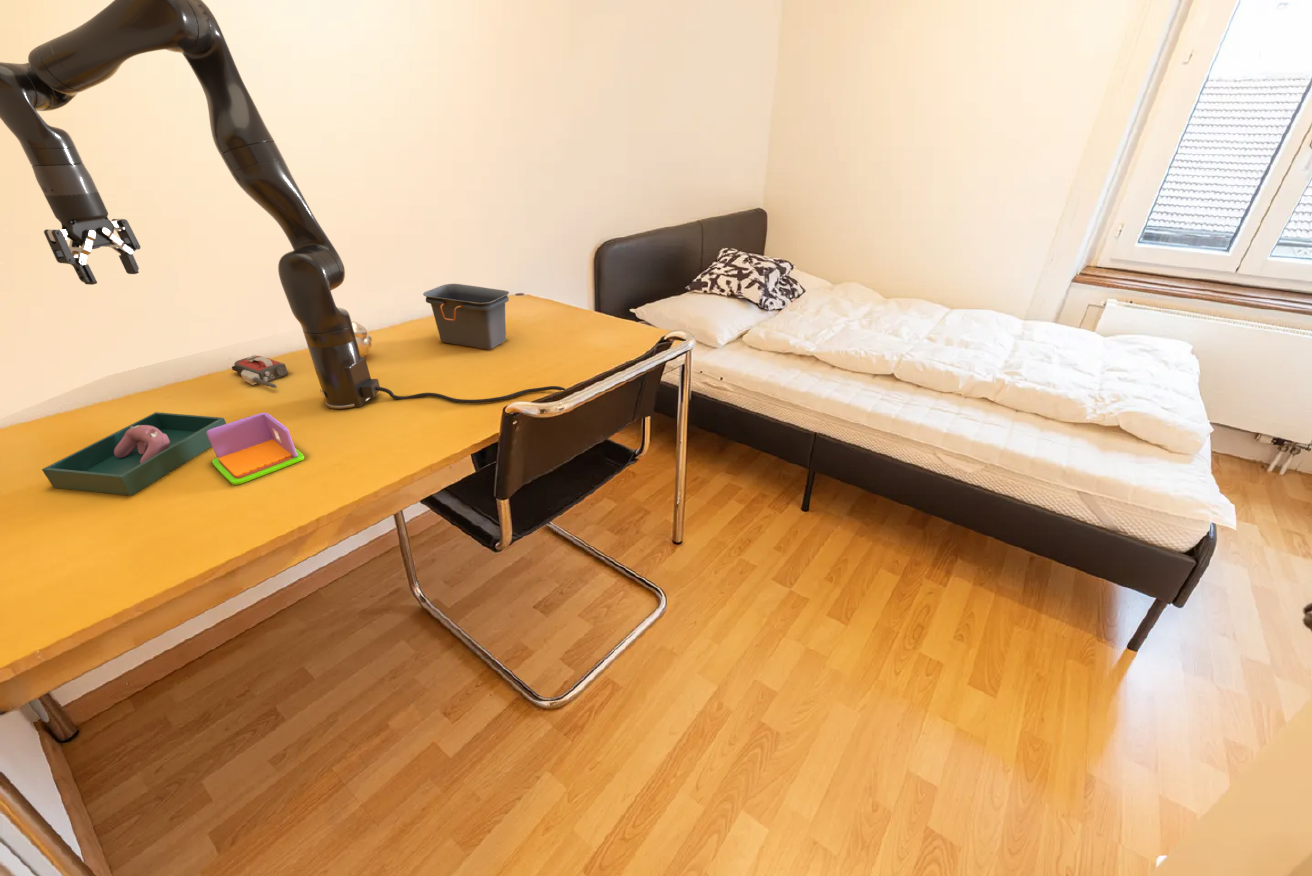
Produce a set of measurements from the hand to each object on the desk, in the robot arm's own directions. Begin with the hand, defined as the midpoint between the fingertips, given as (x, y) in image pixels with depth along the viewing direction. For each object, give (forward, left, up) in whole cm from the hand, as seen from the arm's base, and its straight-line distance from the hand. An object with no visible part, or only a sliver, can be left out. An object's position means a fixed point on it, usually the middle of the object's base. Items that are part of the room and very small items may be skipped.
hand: (113, 278), depth 112 cm
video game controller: (-18, +23, -27) cm, 40 cm away
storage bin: (-52, -45, -27) cm, 74 cm away
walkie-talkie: (-13, -14, -27) cm, 33 cm away
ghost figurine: (-27, -29, -27) cm, 48 cm away
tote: (-18, +23, -27) cm, 40 cm away
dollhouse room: (-39, +20, -27) cm, 52 cm away
